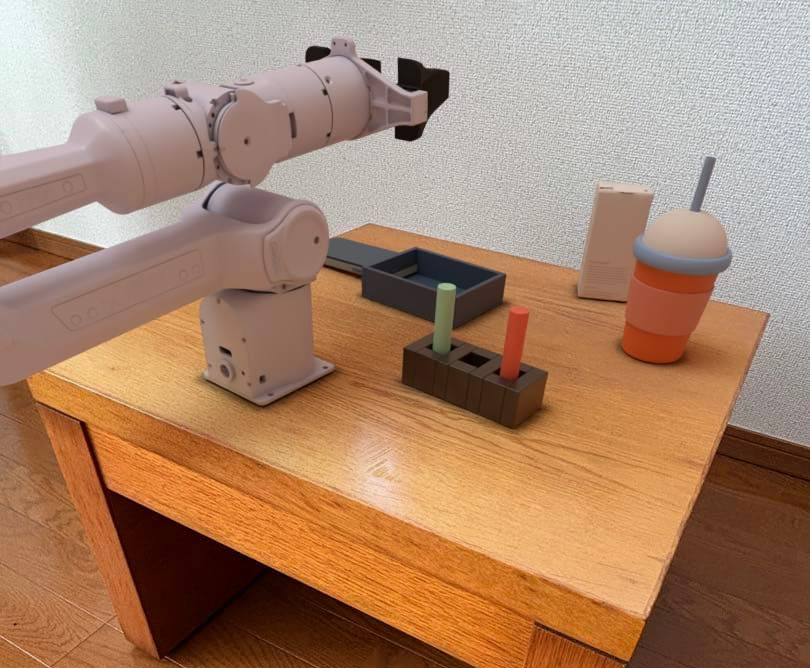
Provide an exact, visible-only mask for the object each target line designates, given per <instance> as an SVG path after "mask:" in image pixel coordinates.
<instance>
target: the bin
mask: <svg viewBox="0 0 810 668" xmlns="http://www.w3.org/2000/svg"><path fill="white" fill-rule="evenodd" d="M413 262H416V263H417V271H416V272H415V273H412V274H410V275H408V276H405V277H403V278H402V277H399V276H395V275H392V274H389V273H390V272H391V271H394V270H396V269H398V268H401V267H403V266H406V265H408V264H411V263H413ZM506 280H507V273H506V272H502V271H498V270H496V269H492V268H489V267H486V266H482V265H478V264H475V263H471V262H470V261H469V262H468V261H465V260H462V259H459V258H455V257H452V256H448V255H446V254H441V253H438V252H435V251H432V250H428V249H425V248H421V247H418V246H413V247H411V248H408V249H405V250H403V251H400V252H399V253H397V254H394V255H392V256H389V257H386V258H384V259H381V260H378V261H376V262H373V263H370V264H368V265H365V266H362V275H361V297H363V298H366V299H368V300H371V301H374V302H377V303H379V304H383V305H385V306H388V307H392V308H394V309H397V310H400V311H402V312H405V313H408V314H411V315H414V316H416V317H419V318H422V319H424V320H428V321H430V322H434V323H435V313H436V300H437V287H438V285H439V284H442V283H450V284H453V285H455V286H456V295H455V305H454V316H453V326H452V330H454V329H456V328H458V327H460V326H463V324H466V323H467V322H469V321H471V320H473V319H475V318H477V317H479V316H480V315H482V314H484V313H487V312H489V311H490V310H492V309H494V308H496V307H497V306H499V305H501V304H503V302H504V294H505V289H506Z"/></svg>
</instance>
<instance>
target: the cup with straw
mask: <svg viewBox="0 0 810 668" xmlns="http://www.w3.org/2000/svg"><path fill="white" fill-rule="evenodd" d="M716 162H717V157H716V156H706V157H705V159H704V161H703V165H702V168H701V171H700V176H699V179H698V181H697V185H696V188H695V192H694V194H693V197H692V201H691V204H690V208H689V207H688V208H687V207H686V208H677V209H674V210H671V211H668V212H666V213H664V214H662V215H660V216H659V217H658V218H656V219H655V220H654V221H653V222H652V223H651V224H650V225H649V226H648V227H647V228H646V229H645V232H644V234H641V235H640V236H638V237H637V239H636V240H635V242H634V244H633V248H632V253H633V255H634V257H635V258H636V259H637V261H636V266H635V270H634V271H633V273H632V277H631V283H630V288H629V294H628V298H627V301H626V306H625V312H624V318H625V322H624V327H623V333H622V338H621V348H622V350H623V352H625V353H626V354H627V355H628V356H630V357H632V358H634V359H636V360H640V361H642V362H646V363H652V364H669V363H670V364H671V363H674V362H677V361H678V360H679V359H680V358H681V357H682V355H683V354H684V351H685V348H686V347H687V344H688V342H689V340H690V338H691V335H692V334H693V333H694V332H695V331H696V329H697V327H698V324H699V323H700V320H701V319H702V316H703V313H704V312H705V310H706V308H707V306H708V304H709V302H710V299H711V297H712V295H713V292H714V290H715V287H716V286H715V283H716V281H717V279H718V277H719V274H721V273H723V272H725V271H727V270H728V269H729V267H730V266H731V264H732V261H733V251H732V249H730V247H729V243H728V241H729V240H728V235H727V232H726V229H725V227H724V225H723V224H722V223H721V221H720V220H719V219H718V218H717V217H716V216H714V215H713V214H711V213H710V212H707V211H706V210H702V205H703V202H704V198H705V195H706V193H707V190H708V187H709V184H710V180H711V177H712V174H713V171H714V167H715V164H716Z"/></svg>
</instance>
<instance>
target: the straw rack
mask: <svg viewBox="0 0 810 668" xmlns="http://www.w3.org/2000/svg"><path fill="white" fill-rule="evenodd" d="M433 338H434V331H432V332H431V333H429V334H426V335H425V336H423V337H421V338H419V339H417V340H415V341H413V342H411V343H409V344H406V345H405V346H404V347H403V348H402V364H401V365H402V366H401V367H402V368H401V369H402V370H401V383H403V384H405V385H407V386H409V387H412V388H414V389H416V390H419V391H422V392H424V393H425V394H429V395H430V396H431V395H432V396H434V397H436V398H438V399H441V400H443V401H446V402H448V403H450V404H453V405H455V406H458V407H459V408H463V409H465V410H466V411H469V412H472V413H475V414H476V415H479V416H482V417H484V418H487V419H489V420H491V421H493V422H495V423H498V424H499V423H500V424H501V425H502V426H503V425H504V426H506V427H508V428H510V429H515V428H517V426H519V425H520V424H521V423H522V422H524V421H525V420H526V419H528V418H529V417H531V416H532V415H533V414H535V413H536V412H537V411H539V410H540V409H541V408H542V406H543V405H542V404H543V401H544V396H545V391H546V387H547V381H548V376H549V371H547V370H544V369H541V368H539V367H536V366H533V365H531V364H528V363H525V362H522V361H521V364H520V369H519V375H518V379H517V380H515V381H514V382H513V381H511V380H509V379H506V378H503V377H501V376H500V369H501V363H502V357H503V354H500V353H498V352H495V351H493V350H489V349H487V348H484V347H482V346H478V345H475V344H472V343H469V342H467V341H464V340H461V339H458V338H456V337H453V336H451V346H450V352H449V353H447V354H446V355H443V354H441V353H438V352H435V351H433Z"/></svg>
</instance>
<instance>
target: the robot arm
mask: <svg viewBox="0 0 810 668" xmlns="http://www.w3.org/2000/svg"><path fill="white" fill-rule="evenodd" d="M304 54H305V55H304V60H305V61H304V63H303V62H302V63H299V64H294V65H290V66H285V67H282V68H277V69H273V70H268V71H264V72H259V73H255V74H251V75H249V76H246V77H245V78H239V79H237V80H234V81H230V82H229V81H228V82H225V83H221V84H219V85H212V84H208V83H202V82H198V81H179V80H177V79H173V80H171V81H169V82H168V83H167V84H166V85H164V87H163V88H162V90H161V91H160V93H159V95H158V96H154V97H150V98H145V99H141V100H137V101H131V102H128V103H127V101H126V99H125V98H124V97H121V96H117V95H113V94H107V95H102V96H97V97H95V98H94V99H93V100H94V104H95V105H94V106H95V108H96V110H94V111H88V112H85V113H81V114H79V115H78V116H77V117H76V118H75V120H74V122H73V123H72V125H71V128H70V132H69V135H68V138H67V141H66V142H65V143H62V144H61V143H60V144H56V145H51V146H47V147H41V148H35V149H30V150H25V151H20V152H14V153H9V154H4V155H0V240H1V239H4V238H7V237H9V236H12V235H14V234H17V233H20V232H22V231H25V230H27V229H29V228H33V227H34V226H38V225H40V224H42V223H45V222H48V221H50V220H53V219H55V218H58V217H60V216H63V215H65V214H68V213H71V212H73V211H76V210H78V209H81V208H83V207H86V206H89V205H91V204H94V203H98V204H99V205H100V206H102V207H104V208H105V209H107V210H108V211H110V212H111V213H114V214H117V215H121V216H125V215H129V214H131V213H134V212H137V211H140V210H143V209H146V208H150V207H152V206H156V205H158V204H161V203H164V202H167V201H170V200H173V199H177V198H179V197H182V196H185V195H188V194H191V193H193V192H197V191H200V190H202V189H204V188H205V187H207V186H208V188H207V190H205V192H204V193H203V195H201V197H200V198H198V199H197V200H196V201H194V202H192V203H190V204H186V205H185V206H183V207H182V208H181V211H180V221H178V222H175V223H172V224H170V225H165V226H163V227H161V228H158V229H156V230H155V229H154V230H153V231H150V232H148V233H145V234H142V235H139V236H136V237H133V238H131V239H129V240H125V241H122V242H120V243H117V244H115V245H111V246H109V247H106V248H104V249H100V250H98V251H95V252H93V253H92V252H91V253H90V254H87V255H84V256H82V257H78V258H76V259H73V260H71V261H67V262H65V263H62V264H59V265H57V266H54V267H51V268H49V269H46V270H44V271H40V272H38V273H35V274H32V275H30V276H27V277H24V278H22V279H19V280H16V281H13V282H10V283H7V284H5V285H2V286H0V387H6V386H9V385H13V384H16V383H17V384H18V383H19V382H21V381H23V380H25V379H28V378H30V377H32V376H35V375H37V374H39V373H41V372H43V371H45V370H48V369H50V368H52V367H55V366H57V365H59V364H61V363H63V362H65V361H67V360H70V359H72V358H73V357H76V356H78V355H80V354H83V353H85V352H87V351H90V350H91V349H94V348H96V347H99V346H100V345H102V344H105V343H107V342H109V341H111V340H113V339H115V338H118V337H120V336H122V335H125V334H127V333H129V332H131V331H134V330H135V329H138V328H140V327H142V326H144V325H146V324H148V323H151V322H153V321H156V320H158V319H160V318H161V317H164V316H166V315H168V314H171V313H172V312H175V311H177V310H179V309H182V308H184V307H186V306H188V305H190V304H193V303H195V302H197V301H199V300H201V299H202V300H201V302H200V305H199V309H198V311H199V314H198V316H199V324H200V329H201V335H202V343H203V348H204V354H205V360H206V366H207V370H206V371H204V372H203V378H204V379H206V380H208V381H210V382H212V383H214V384H216V385H218V386H220V387H222V388H224V389H226V390H228V391H230V392H232V393H234V394H236V395H238V396H240V397H242V398H244V399H246V400H248V401H250V402H252V403H254V404H256V405H258V406H266V405H269V404H270V403H272V402H274V401H276V400H278V399H280V398H282V397H285V396H286V395H288V394H290V393H293V392H294V391H296V390H298V389H300V388H302V387H304V386H306V385H308V384H310V383H312V382H315V381H316V380H318V379H320V378H322V377H324V376H326V375H328V374H330V373H333V372H334V371H335V365H334V364H333V363H331V362H329V361H326V360H324V359H321V358H319V357H316V356H315V344H314V341H315V340H314V322H313V321H314V319H313V302H312V301H313V300H312V283H313V282H315V281H317V280H318V279H317V276H318V274H319V273H320V271H321V270H322V268H323V266H324V265H325V264H324V262H325V259H326V256H327V253H328V247H329V239H330V230H329V225H328V220H327V218H326V215H325V214H324V211H323V210H322V209H321V207H320V206H319V205H317V204H316V203H315V202H313V201H311V200H309V199H306V198H305V199H302V198H298V199H297V198H293V197H289V196H286V195H283V194H279V193H275V192H272V191H269V190H265V189H262V188H258V187H257V186H259V185H260V184H261V183H263V181H264V180H266V178H267V176H268V175H269V173H270V171H271V170H272V167H273V166H274V164H279V163H283V162H285V161H289V160H291V159H294V158H297V157H300V156H303V155H306V154H309V153H311V152H315V151H318V150H321V149H324V148H328V147H330V146H333V145H337V144H339V143H342V142H344V141H349V142H352V141H356V140H360V139H362V138H365V137H368V136H372V135H374V134H377V133H381V132H384V131H387V130H389V129H392V128H394V139H395V140H399V141H403V142H408V143H409V142H414V141H417V140H419V139H421V138H422V136H423V134H424V131H425V128H426V126H427V123H428V121H429V119H430V118H431V116H432V115H433V114H434V113H435V112H436V111H437V110H438V109H439V108H440V107H441V106H442V105H443V104H444V103H445V102H446V101H447V100H448V99H449V98H450V80H451V79H450V75H451V73H450V71H449V70H448V69H443V68H435V67H425V66H424V64H423V63H422V62H420V61H418V60H415V59H413V58H406V57H396V59H397V61H396V62H397V83H395V82H393V81H392V80H390V79H389V78H388V77H387V76H385V75H384V74H382V61H381V60H378V59H375V58H374V59H373V58H367V57H359V56H358V55H357V52H356V44H355V41H354V39H353V38H352V37H350V36H341V35H339V36H334V37H332V38H331V40H330V48H329V47H328V46H321V45H315V44H314V45H310V46H308V47H307V49H306V50H305V53H304ZM213 182H214V183H213ZM212 183H213V184H212ZM210 184H211V185H210ZM209 185H210V186H209Z"/></svg>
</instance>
